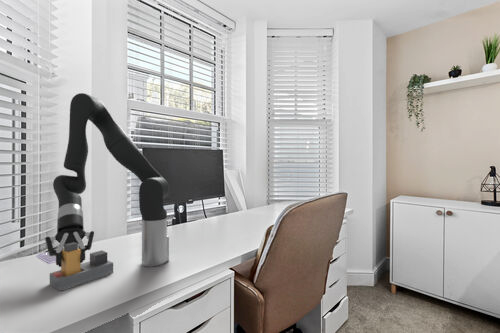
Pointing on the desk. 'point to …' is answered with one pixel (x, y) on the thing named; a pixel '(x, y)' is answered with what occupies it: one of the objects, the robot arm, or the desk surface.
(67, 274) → the adapter plug
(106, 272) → the power strip
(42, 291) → the desk surface
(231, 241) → the desk surface
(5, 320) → the desk surface
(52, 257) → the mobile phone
